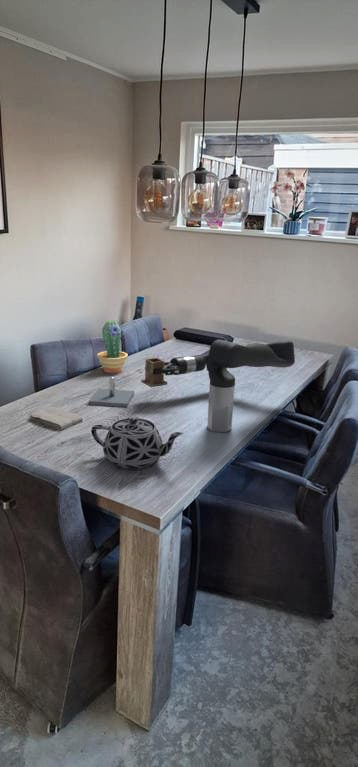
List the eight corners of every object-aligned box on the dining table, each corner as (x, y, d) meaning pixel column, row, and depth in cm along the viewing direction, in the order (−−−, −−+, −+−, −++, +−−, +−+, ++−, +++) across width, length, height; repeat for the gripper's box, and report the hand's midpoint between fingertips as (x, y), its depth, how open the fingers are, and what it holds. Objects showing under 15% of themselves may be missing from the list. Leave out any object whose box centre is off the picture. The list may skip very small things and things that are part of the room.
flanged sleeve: (167, 384, 214) (168, 361, 210) (150, 387, 209) (151, 363, 206) (157, 379, 220) (158, 356, 217) (141, 381, 215) (141, 358, 212)
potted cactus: (92, 373, 251) (91, 322, 244) (102, 364, 266) (102, 316, 258) (123, 375, 249) (123, 325, 241) (131, 367, 263) (132, 319, 256)
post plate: (127, 407, 210) (127, 384, 207) (88, 404, 211) (88, 381, 208) (134, 394, 225) (134, 372, 222) (98, 391, 226) (98, 370, 223)
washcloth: (50, 411, 204) (50, 404, 203) (84, 422, 195) (84, 414, 194) (27, 420, 194) (26, 412, 193) (61, 432, 185) (61, 424, 184)
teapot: (174, 482, 153) (176, 436, 148) (79, 466, 160) (78, 422, 155) (189, 455, 171) (191, 413, 166) (103, 442, 178) (102, 401, 173)
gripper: (192, 378, 216) (158, 383, 207) (173, 369, 227) (140, 374, 218) (193, 361, 214) (158, 365, 204) (174, 352, 225) (140, 357, 216)
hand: (149, 370), depth 211 cm, fingers closed on flanged sleeve, 5 cm apart
